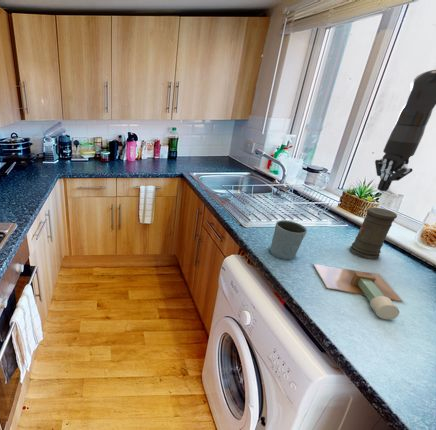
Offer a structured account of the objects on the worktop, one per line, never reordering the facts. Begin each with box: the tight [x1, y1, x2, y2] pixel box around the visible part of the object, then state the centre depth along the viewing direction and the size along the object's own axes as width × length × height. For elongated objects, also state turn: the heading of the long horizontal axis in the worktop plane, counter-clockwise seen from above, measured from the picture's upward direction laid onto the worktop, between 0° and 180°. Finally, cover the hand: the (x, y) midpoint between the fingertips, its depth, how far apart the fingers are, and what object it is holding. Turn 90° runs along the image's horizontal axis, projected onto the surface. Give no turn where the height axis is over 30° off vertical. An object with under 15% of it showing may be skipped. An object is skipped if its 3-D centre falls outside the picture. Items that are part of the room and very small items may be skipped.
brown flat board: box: [312, 263, 403, 303], centre depth 96 cm, size 20×14×1 cm
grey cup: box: [269, 219, 308, 260], centre depth 108 cm, size 10×10×12 cm
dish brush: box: [351, 272, 400, 320], centre depth 86 cm, size 5×5×16 cm
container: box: [349, 207, 398, 260], centre depth 109 cm, size 9×9×18 cm
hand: (381, 190), depth 99 cm, fingers closed
